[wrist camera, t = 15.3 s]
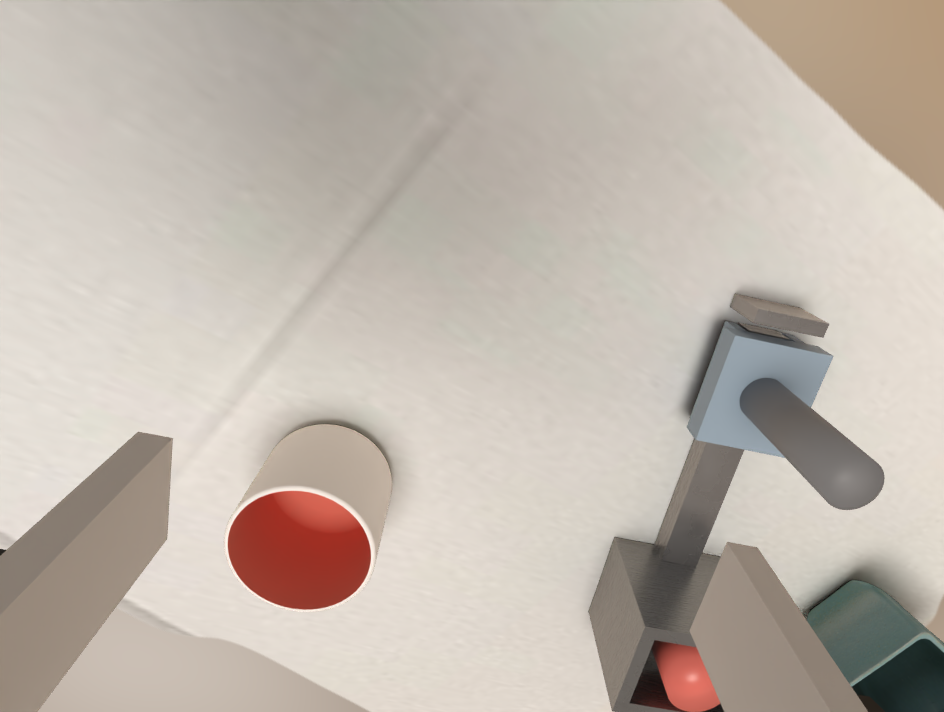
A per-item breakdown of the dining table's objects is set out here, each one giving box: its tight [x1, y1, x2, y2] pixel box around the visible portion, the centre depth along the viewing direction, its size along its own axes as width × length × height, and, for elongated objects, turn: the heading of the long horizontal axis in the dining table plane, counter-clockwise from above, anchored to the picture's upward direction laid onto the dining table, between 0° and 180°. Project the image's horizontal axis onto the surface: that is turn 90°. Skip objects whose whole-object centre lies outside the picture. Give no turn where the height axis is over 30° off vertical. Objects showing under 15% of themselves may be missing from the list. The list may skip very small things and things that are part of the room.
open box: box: [589, 537, 724, 712], centre depth 49 cm, size 8×10×10 cm
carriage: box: [687, 321, 884, 510], centre depth 40 cm, size 8×7×15 cm
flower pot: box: [807, 580, 944, 712], centre depth 51 cm, size 9×9×9 cm
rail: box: [655, 294, 829, 566], centre depth 47 cm, size 22×5×4 cm, turn 168°
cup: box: [224, 424, 392, 612], centre depth 46 cm, size 10×10×10 cm
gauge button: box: [651, 640, 720, 712], centre depth 46 cm, size 4×4×5 cm
